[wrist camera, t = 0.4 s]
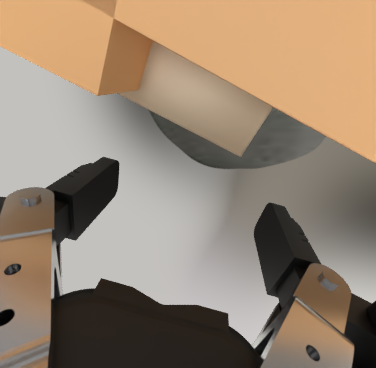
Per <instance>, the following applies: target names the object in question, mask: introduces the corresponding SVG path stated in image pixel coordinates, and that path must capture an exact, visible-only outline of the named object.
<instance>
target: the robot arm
mask: <svg viewBox="0 0 376 368" xmlns="http://www.w3.org/2000/svg"><path fill="white" fill-rule="evenodd" d="M118 178H119V162H118V161H117V160H113V159H110V158H106V157H102V158H100V159H99V160H98V161H96V162H94V163H89V164H86V165H82V166H80V167H78V168H77V169H75V170H74V171H73V172H70V173H69V174H67V176H64V177H62V178H61V179H59V180H58V181H56V182H54V183H53V184H51V185H50V186H48V187H47V188H38V187H34V188H25V189H21V190H18V191H15V192H13V193H11V194H10V195H8V196H7V197H0V368H376V301H375V302H374V303H372V304H371V303H369V302H368V301H366V300H364V299H362V298H360V297H358V296H356V295H354V294H352V293H351V290H350V288H349V286H348V284H347V283H346V282H345V281H344V279H343V278H342V277H341V276H339V275H338V274H337V273H336V272H335V271H333V270H332V269H330V268H328V267H327V266H324V265H322V264H321V263H320V261H319V259H318V257H317V256H316V254H315V252H314V250H313V249H312V247H311V245H310V243H309V242H308V239H307V238H306V236H304V235H305V234H304V232H303V230H302V229H301V227H300V226H299V225H298V224H297V223H296V222H295V221H294V219H293V218H291V217H290V215H289V214H288V211H287V210H286V208H285V207H284V206H281V205H277V204H274V203H268V204H267V205H266V207H265V209H264V210H263V212H262V214H261V216H260V218H259V220H258V222H257V224H256V226H255V229H254V238H255V243H256V247H257V251H258V256H259V260H260V265H261V269H262V274H263V278H264V283H265V287H266V291H267V294H268V295H271V296H275V297H278V298H279V303H278V304H277V306H276V307H275V308H274V310H273V312H272V314H271V315H270V317H269V319H268V320H267V322H266V324H265V325H264V327H263V329H262V330H261V332H260V334H259V335H258V337H257V339H256V340H255V342H254V343H253V344H252V346H251V344H250V343H249V342H248V341H247V340H246V339H245V338H244V337H243V336H242V335H241V334H239V333H238V332H237V331H235V330H234V329H233V328H231V327H230V326H229V323H228V314H227V313H224V312H220V311H217V310H213V309H210V308H206V307H202V306H199V305H162V304H160V303H158V302H156V301H155V300H153V299H151V298H150V297H148V296H146V295H145V294H143V293H141V292H140V291H138V290H136V289H135V288H133V287H130V286H126V285H123V284H120V283H116V282H112V281H109V280H105V279H102V278H101V280H100V282H99V283H98V285H97V287H96V288H95V289H84V290H78V291H73V292H70V293H67V294H64V295H63V290H62V268H61V244H60V243H61V242H62V241H63V240H64V239H65V238H68V239H72V240H77V239H78V237H79V236H80V235H81V234H82V233H83V232H84V231H85V229H86V228H87V227H88V226H89V225H90V224H91V223H92V222H93V220H94V219H95V218H96V217H97V216H98V215H99V214H100V213H101V211H102V210H103V209H104V208H105V207H106V206H107V205H108V203H109V202H110V201H111V200H112V199H113V198H114V196H115V195H116V192H117V189H118Z"/></svg>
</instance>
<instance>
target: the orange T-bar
mask: <svg viewBox="0 0 376 368" xmlns="http://www.w3.org/2000/svg"><path fill="white" fill-rule="evenodd" d="M153 41H154V42H156V43H158V44H160V45H161V46H163V47H165V48H167V49H169V50H170V51H172V52H174V53H176V54H178V55H179V56H181V57H183V58H185V59H187V60H189V61H190V62H192V63H194V64H196V65H198V66H199V67H201V68H203V69H205V70H207V71H208V72H210V73H212V74H214V75H216V76H218V77H219V78H221V79H223V80H225V81H227V82H228V83H230V84H232V85H234V86H236V87H237V88H239V89H241V90H243V91H245V92H247V93H248V94H250V95H252V96H254V97H256V98H257V99H259V100H261V101H263V102H265V103H266V104H268V105H270V106H272V107H274V108H276V109H277V110H279V111H281V112H283V113H285V114H286V115H288V116H290V117H292V118H294V119H295V120H297V121H299V122H301V123H303V124H305V125H306V126H308V127H310V128H312V129H314V130H315V131H317V132H319V133H321V134H323V135H324V136H326V137H328V138H330V139H332V140H334V141H336V142H337V143H339V144H341V145H343V146H344V147H346V148H348V149H350V150H352V151H354V152H355V153H357V154H359V155H361V156H363V157H364V158H366V159H368V160H370V161H372V162H373V163H375V164H376V0H0V46H1V47H3V48H4V49H7V50H8V51H10V52H12V53H14V54H16V55H18V56H20V57H22V58H24V59H26V60H28V61H30V62H32V63H34V64H36V65H38V66H40V67H42V68H44V69H46V70H48V71H50V72H52V73H54V74H56V75H58V76H60V77H62V78H64V79H65V80H68V81H69V82H71V83H73V84H75V85H77V86H79V87H81V88H83V89H85V90H87V91H89V92H91V93H93V94H95V95H97V96H99V95H106V94H114V93H121V92H128V91H135V90H138V89H139V85H140V82H141V79H142V75H143V72H144V69H145V65H146V62H147V59H148V55H149V52H150V49H151V46H152V42H153Z"/></svg>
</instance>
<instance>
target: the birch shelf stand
mask: <svg viewBox="0 0 376 368" xmlns="http://www.w3.org/2000/svg"><path fill="white" fill-rule="evenodd" d="M118 94H119V95H121V96H123V97H126V98H127V99H129V100H131V101H133V102H135V103H137V104H139V105H141V106H143V107H145V108H147V109H149V110H151V111H152V112H154V113H156V114H158V115H160V116H162V117H164V118H166V119H168V120H170V121H172V122H174V123H176V124H178V125H180V126H182V127H184V128H186V129H187V130H189V131H191V132H193V133H195V134H197V135H199V136H201V137H203V138H205V139H207V140H209V141H211V142H213V143H215V144H217V145H219V146H221V147H222V148H224V149H226V150H228V151H230V152H232V153H234V154H236V155H238V156H240V157H241V155H242V154H243V152H244V151H245V149H246V148H247V146H248V145H249V143H250V142H251V140H252V139H253V137H254V136H255V134H256V132H257V131H258V129H259V128H260V126H261V125H262V123H263V122H264V120H265V119H266V117H267V116H268V114H269V113H270V111H271V110H272V108H273V107H272V106H270V105H268V104H266V103H265V102H263V101H261V100H259V99H257V98H256V97H254V96H252V95H250V94H248V93H247V92H245V91H243V90H241V89H239V88H237V87H236V86H234V85H232V84H230V83H228V82H227V81H225V80H223V79H221V78H219V77H218V76H216V75H214V74H212V73H210V72H208V71H207V70H205V69H203V68H201V67H199V66H198V65H196V64H194V63H192V62H190V61H189V60H187V59H185V58H183V57H181V56H179V55H178V54H176V53H174V52H172V51H170V50H169V49H167V48H165V47H163V46H161V45H160V44H158V43H156V42H154V41H153V42H152V46H151V49H150V52H149V55H148V59H147V62H146V65H145V69H144V72H143V75H142V79H141V82H140V85H139V89H138V90H135V91H128V92H121V93H118Z"/></svg>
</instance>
